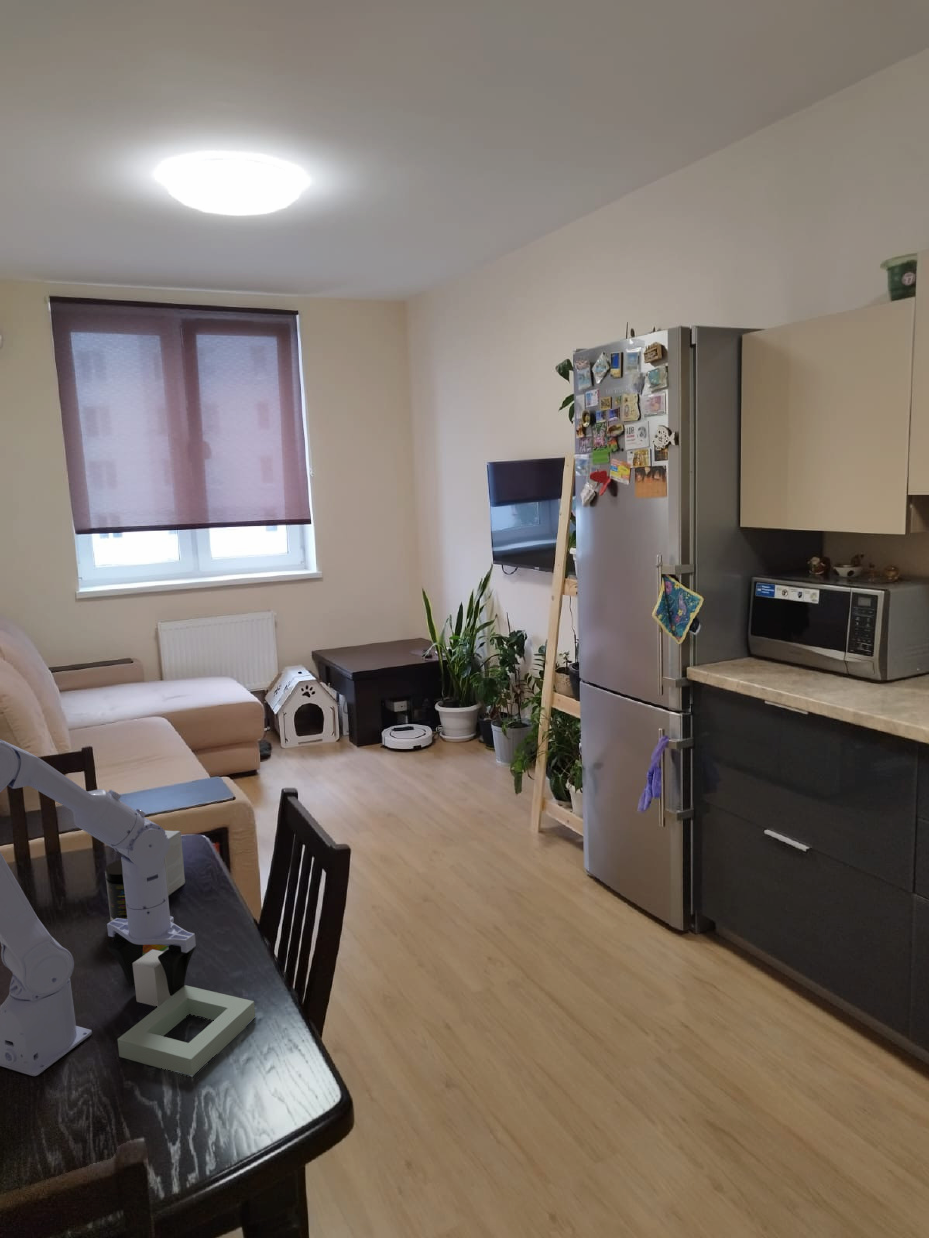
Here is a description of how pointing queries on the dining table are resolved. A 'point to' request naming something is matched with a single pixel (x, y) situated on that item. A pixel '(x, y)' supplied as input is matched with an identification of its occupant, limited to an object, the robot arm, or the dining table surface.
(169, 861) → the small box
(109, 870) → the supplement container
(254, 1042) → the dining table surface
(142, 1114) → the dining table surface
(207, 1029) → the socket board
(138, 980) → the plug
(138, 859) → the robot arm
